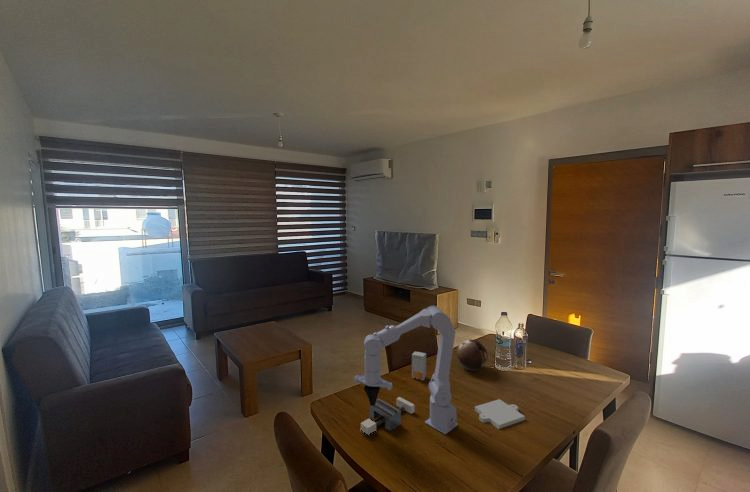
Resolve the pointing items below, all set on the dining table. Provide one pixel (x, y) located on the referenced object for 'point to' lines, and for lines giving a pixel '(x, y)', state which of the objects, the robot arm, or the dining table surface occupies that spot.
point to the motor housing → (386, 414)
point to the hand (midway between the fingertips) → (372, 404)
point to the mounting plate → (499, 413)
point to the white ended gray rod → (370, 426)
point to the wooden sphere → (472, 355)
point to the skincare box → (419, 365)
